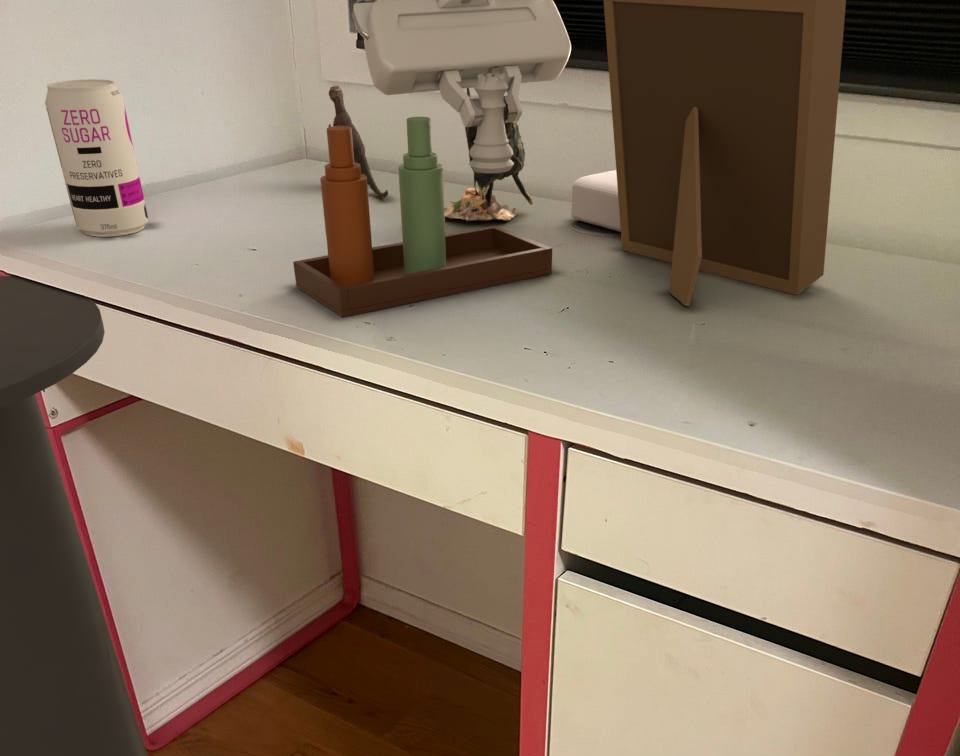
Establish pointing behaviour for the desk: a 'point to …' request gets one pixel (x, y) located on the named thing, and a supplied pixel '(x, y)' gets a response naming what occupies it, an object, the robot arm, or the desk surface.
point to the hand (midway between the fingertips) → (494, 120)
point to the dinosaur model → (358, 146)
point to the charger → (597, 200)
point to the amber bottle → (346, 212)
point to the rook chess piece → (491, 128)
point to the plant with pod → (490, 183)
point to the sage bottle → (421, 201)
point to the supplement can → (97, 156)
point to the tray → (428, 271)
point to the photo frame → (726, 135)
